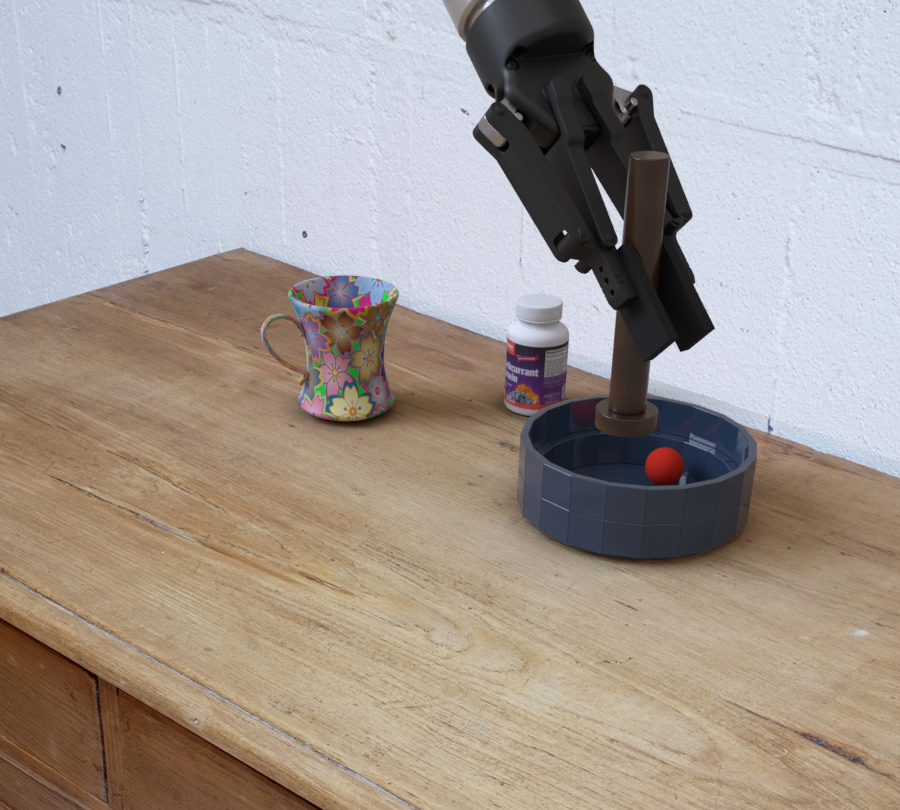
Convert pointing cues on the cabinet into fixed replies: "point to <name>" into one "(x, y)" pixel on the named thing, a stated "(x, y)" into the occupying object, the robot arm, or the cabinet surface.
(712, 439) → the bowl
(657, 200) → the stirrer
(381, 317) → the mug
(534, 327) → the pill bottle
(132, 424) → the cabinet surface
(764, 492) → the cabinet surface
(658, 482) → the red ball
